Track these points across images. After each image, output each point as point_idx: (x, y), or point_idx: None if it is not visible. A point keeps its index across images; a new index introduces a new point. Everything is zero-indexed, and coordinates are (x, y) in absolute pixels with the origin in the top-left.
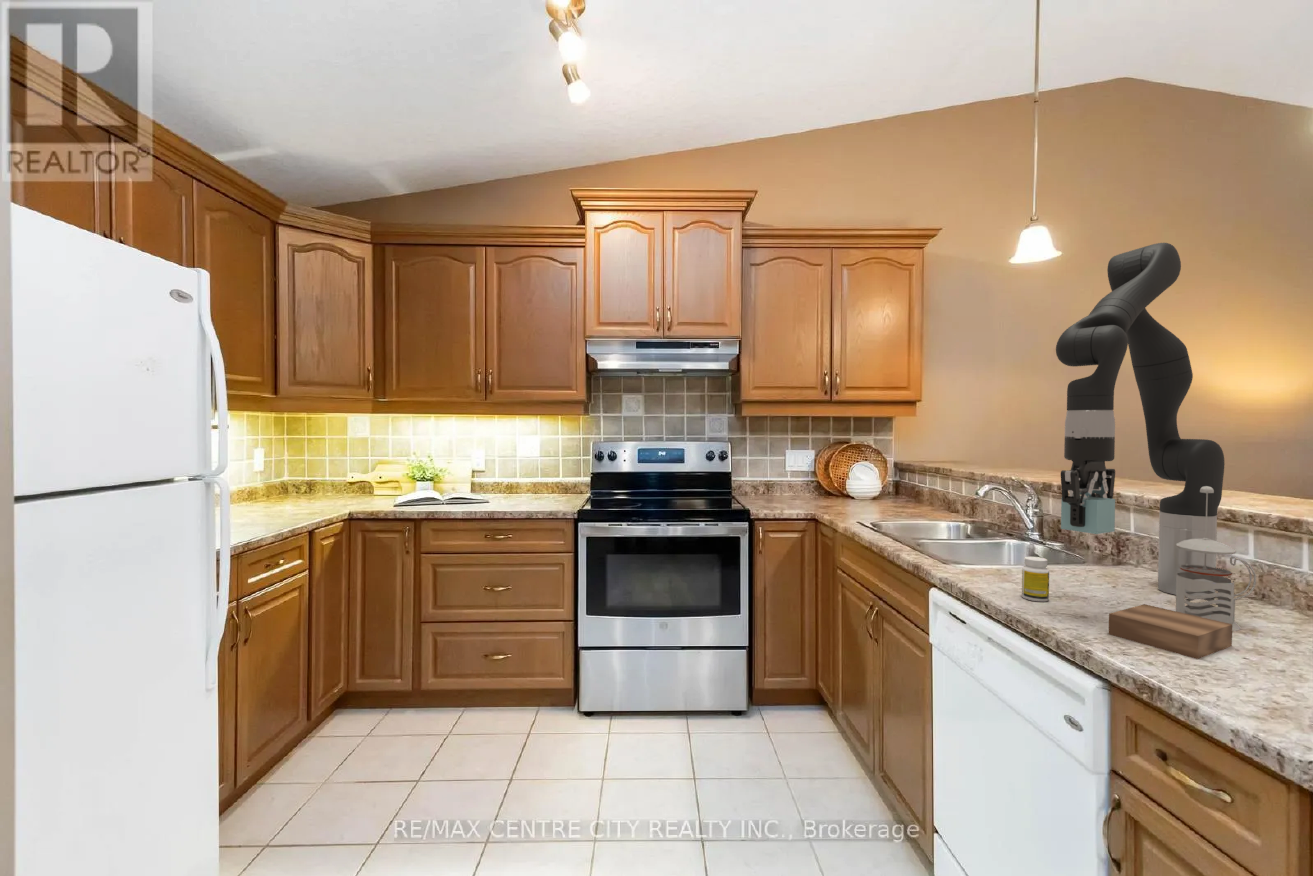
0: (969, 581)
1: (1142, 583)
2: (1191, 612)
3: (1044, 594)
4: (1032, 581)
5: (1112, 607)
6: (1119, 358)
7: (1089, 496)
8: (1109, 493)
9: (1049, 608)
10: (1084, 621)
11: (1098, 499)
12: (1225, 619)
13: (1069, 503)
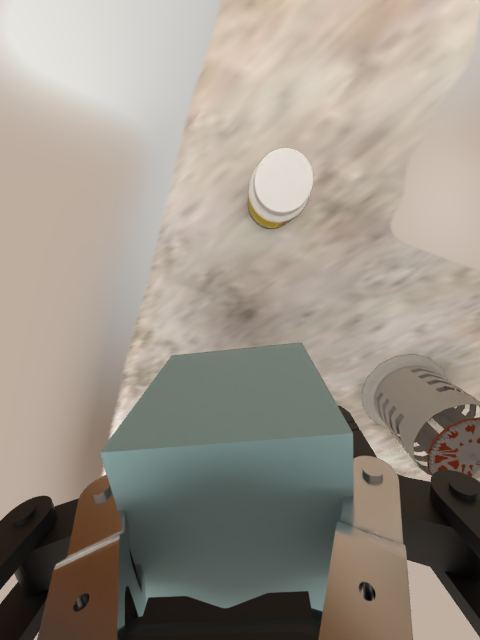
0: (260, 11)
1: None
2: (379, 404)
3: (268, 227)
4: (250, 207)
5: (356, 296)
6: None
7: (343, 500)
8: (453, 596)
9: (237, 261)
10: (225, 330)
11: (226, 592)
12: (398, 429)
13: (68, 507)
